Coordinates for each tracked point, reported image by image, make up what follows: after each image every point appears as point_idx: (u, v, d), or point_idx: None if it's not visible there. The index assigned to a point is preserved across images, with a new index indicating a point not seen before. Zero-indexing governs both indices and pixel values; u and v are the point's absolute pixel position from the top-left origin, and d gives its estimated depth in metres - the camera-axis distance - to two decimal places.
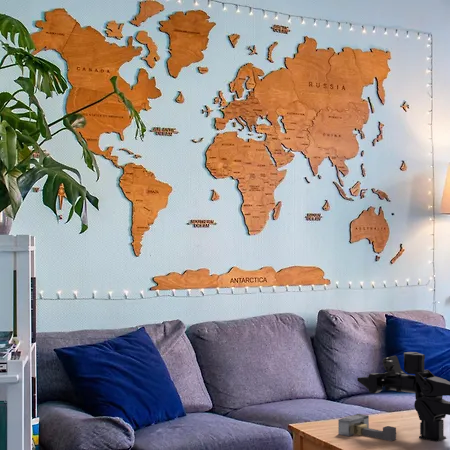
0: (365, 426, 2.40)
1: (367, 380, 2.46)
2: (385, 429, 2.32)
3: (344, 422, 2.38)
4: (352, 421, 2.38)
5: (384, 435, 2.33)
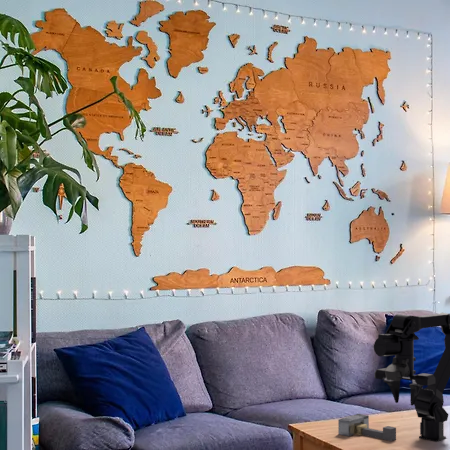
0: (365, 426, 2.40)
1: (415, 391, 2.27)
2: (385, 429, 2.32)
3: (344, 422, 2.38)
4: (352, 421, 2.38)
5: (384, 435, 2.33)
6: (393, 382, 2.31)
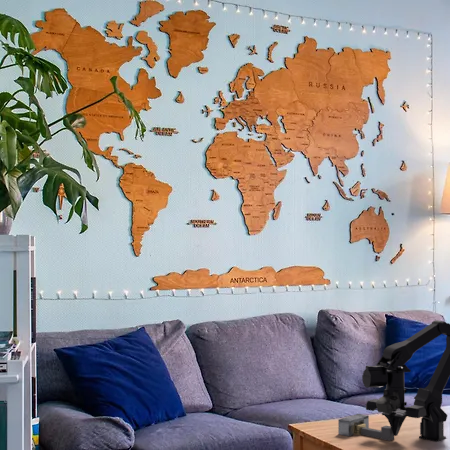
0: (363, 425, 2.41)
1: (398, 421, 2.31)
2: (383, 429, 2.33)
3: (344, 422, 2.38)
4: (352, 421, 2.38)
5: (382, 435, 2.33)
6: (391, 415, 2.31)
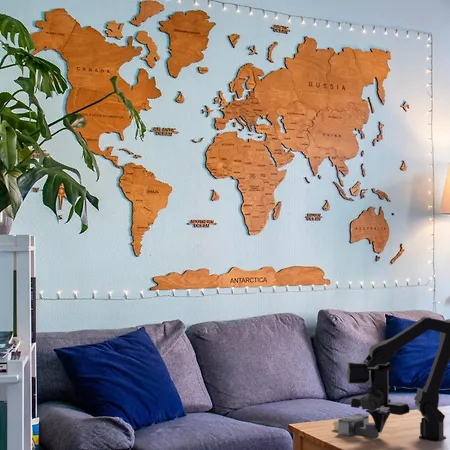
0: None
1: (382, 418, 2.35)
2: (368, 426, 2.37)
3: (344, 422, 2.38)
4: (352, 421, 2.38)
5: (367, 431, 2.37)
6: (375, 412, 2.35)
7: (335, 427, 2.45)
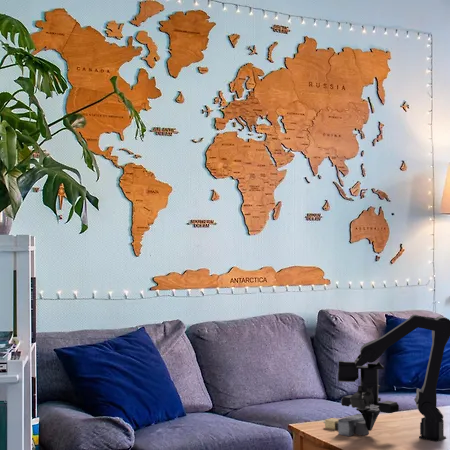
0: None
1: (372, 416, 2.37)
2: (358, 424, 2.39)
3: (344, 422, 2.38)
4: (352, 421, 2.38)
5: (357, 430, 2.40)
6: (365, 410, 2.38)
7: (326, 425, 2.47)
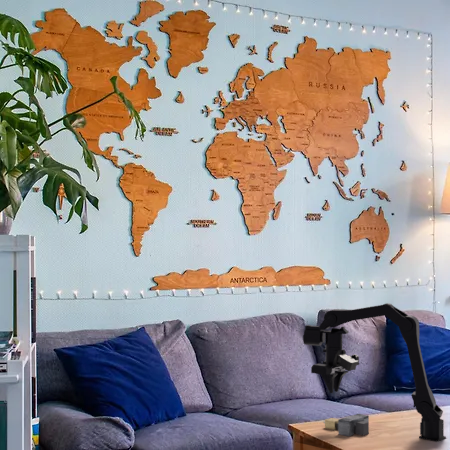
0: None
1: None
2: (358, 424, 2.40)
3: (344, 422, 2.38)
4: (352, 421, 2.38)
5: (357, 430, 2.40)
6: None
7: (326, 425, 2.47)
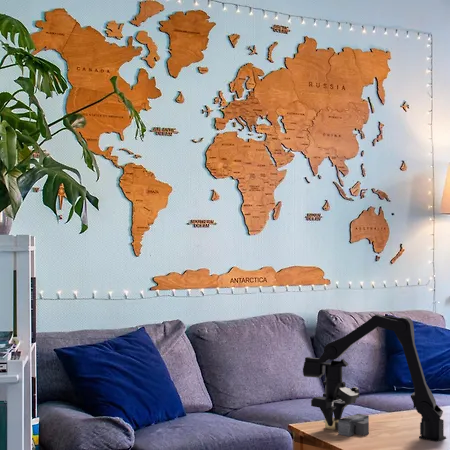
0: None
1: None
2: (358, 424, 2.40)
3: (344, 422, 2.38)
4: (352, 421, 2.38)
5: (357, 430, 2.40)
6: None
7: (326, 425, 2.48)
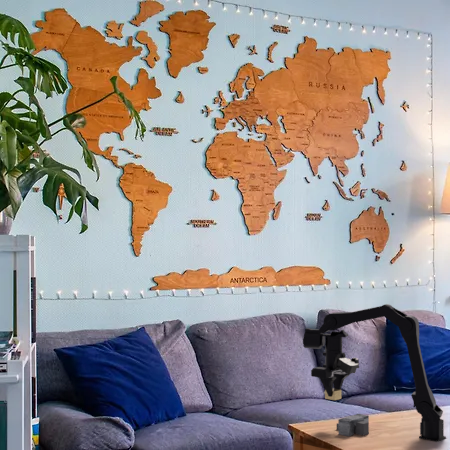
0: (339, 391, 2.48)
1: None
2: (358, 424, 2.39)
3: (344, 422, 2.38)
4: (352, 421, 2.38)
5: (357, 430, 2.40)
6: None
7: (326, 395, 2.48)
